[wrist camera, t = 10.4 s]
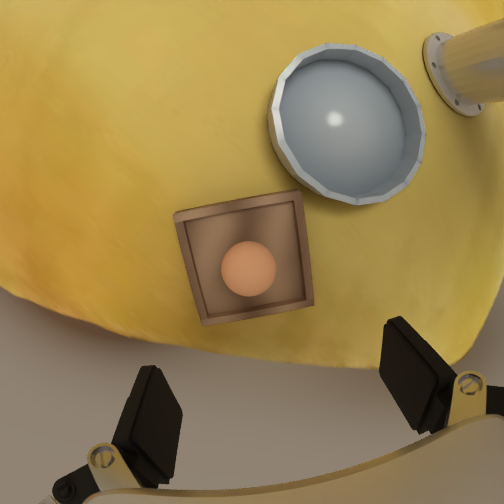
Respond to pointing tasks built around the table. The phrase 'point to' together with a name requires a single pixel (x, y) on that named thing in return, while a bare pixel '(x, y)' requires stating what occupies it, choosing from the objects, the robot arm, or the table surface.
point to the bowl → (346, 124)
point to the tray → (239, 230)
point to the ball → (248, 268)
